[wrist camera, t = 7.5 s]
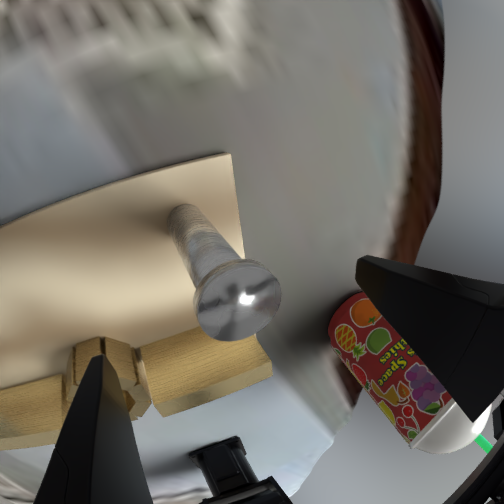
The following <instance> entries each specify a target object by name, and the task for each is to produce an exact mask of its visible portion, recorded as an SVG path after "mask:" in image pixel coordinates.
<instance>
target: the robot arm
mask: <svg viewBox="0 0 504 504" xmlns="http://www.w3.org/2000/svg"><path fill="white" fill-rule="evenodd" d="M355 279H356V282H357V284H358V285H359V286H360V288H361V289H362V290H363V292H364V293H365V294H366V296H367V297H368V298H369V300H370V301H371V302H372V304H373V305H374V306H375V308H376V309H377V310H378V312H379V313H380V314H381V315H382V316H383V317H384V318H385V320H386V321H387V322H388V323H389V324H390V325H391V326H392V327H393V328H394V330H395V331H396V332H397V333H398V334H399V335H400V336H401V338H402V339H403V340H404V341H405V342H406V343H407V344H408V345H409V347H410V348H411V349H412V350H413V351H414V352H415V354H416V355H417V356H418V357H419V358H420V359H421V361H422V362H423V363H424V364H425V365H426V366H427V368H428V369H429V370H430V371H431V372H432V374H433V375H434V376H435V377H436V378H437V380H438V381H439V382H440V383H441V384H442V386H444V388H445V390H446V391H447V392H448V393H449V394H450V396H451V397H452V398H453V399H454V401H455V402H456V403H457V404H458V406H459V407H460V408H461V409H462V411H463V412H464V413H465V415H466V416H467V417H468V418H469V420H470V421H471V422H472V423H474V422H475V421H476V420H477V419H478V418H479V416H480V415H481V414H482V413H483V412H484V411H485V410H486V409H487V408H488V407H489V406H490V404H491V403H492V402H493V401H494V400H495V399H496V397H497V396H498V395H499V394H500V395H501V396H502V397H503V398H502V399H501V401H500V402H499V404H498V405H497V407H496V408H495V410H494V411H493V413H492V414H493V426H494V438H495V439H496V440H497V442H496V444H495V445H494V446H493V448H492V449H491V450H490V452H489V453H488V454H487V455H486V457H485V458H484V459H483V461H482V462H481V463H480V464H479V465H478V467H477V468H476V469H475V470H474V471H473V472H472V474H471V475H470V476H469V477H468V478H467V479H466V480H465V481H464V483H463V484H462V485H461V486H460V487H459V488H458V489H457V490H456V491H455V492H454V493H453V494H452V495H451V496H450V497H449V498H448V499H447V500H446V501H445V502H444V503H443V504H484V503H485V502H486V501H487V499H488V498H489V497H490V498H491V499H492V500H490V501H489V502H488V503H487V504H504V284H500V283H494V282H489V281H483V280H477V279H472V278H467V277H463V276H458V275H454V274H453V275H452V274H450V273H446V272H441V271H437V270H432V269H428V268H424V267H419V266H415V265H410V264H406V263H401V262H397V261H392V260H388V259H383V258H379V257H374V256H369V255H366V256H363V257H361V258H359V259H358V260H357V264H356V274H355ZM245 455H246V451H245V449H244V446H243V444H242V442H241V439H240V437H235V438H232V439H230V440H227V441H224V442H222V443H219V444H216V445H213V446H211V447H208V448H205V449H202V450H199V451H196V452H193V453H190V454H189V458H190V459H191V460H192V461H193V462H194V463H195V464H196V465H197V466H198V467H199V468H200V469H201V470H202V473H203V475H204V477H205V479H206V482H207V484H208V486H209V488H210V490H211V492H212V495H213V497H211V498H208V499H207V498H205V499H202V500H203V502H201V503H199V504H293V503H292V502H291V500H290V499H289V498H288V496H287V495H286V494H285V492H284V491H283V490H282V489H281V487H280V486H279V485H278V483H277V482H276V481H275V479H274V478H273V477H272V476H270V477H268V478H267V479H264V480H262V481H259V480H258V479H257V477H256V475H255V473H254V472H253V470H252V468H251V466H250V464H249V463H248V461H247V459H246V457H245ZM33 504H153V501H152V498H151V495H150V492H149V489H148V485H147V482H146V479H145V475H144V472H143V468H142V465H141V461H140V457H139V453H138V449H137V445H136V441H135V436H134V432H133V427H132V423H131V419H130V415H129V412H128V409H127V406H126V402H125V399H124V396H123V392H122V389H121V385H120V382H119V378H118V375H117V372H116V370H115V369H114V367H113V366H112V364H111V363H110V361H109V360H108V358H107V357H106V356H105V355H104V354H99V355H96V356H93V357H92V358H91V359H90V361H89V364H88V366H87V368H86V370H85V372H84V375H83V377H82V379H81V381H80V384H79V386H78V388H77V391H76V393H75V395H74V398H73V400H72V403H71V405H70V408H69V410H68V413H67V415H66V418H65V420H64V423H63V425H62V428H61V431H60V433H59V436H58V439H57V442H56V445H55V448H54V450H53V453H52V456H51V459H50V462H49V464H48V467H47V470H46V473H45V475H44V478H43V480H42V483H41V486H40V488H39V490H38V493H37V495H36V498H35V500H34V503H33Z"/></svg>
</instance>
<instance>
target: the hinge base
mask: <svg viewBox="0 0 504 504" xmlns="http://www.w3.org/2000/svg"><path fill="white" fill-rule="evenodd" d="M140 350H141V354H142V359H143V363H142V361H141V359H140V357H139V356H138V354H137V352H136V350H135V348H134V347H132V348H130V344H128V343H125V342H122V341H118V340H115V339H112V338H109V337H106V336H105V338H104V340H103V341H102V340H101V338H100V336H98V337H95V338H92V339H88V340H85V341H82V342H79V343H76V347H74V346H73V347H72V350H71V352H70V355H69V358H68V361H67V367H66V401H67V404H68V405H69V406H70V405H71V403H72V400H73V398H74V395H75V393H76V391H77V388H78V386H79V384H80V381H81V379H82V377H83V375H84V372H85V370H86V368H87V366H88V364H89V361H90V359H91V358H92V357H93V356H96V355H99V354H104V355H105V356H106V357H107V358H108V360H109V361H110V363H111V364H112V366H113V367H114V369H115V370H116V372H117V375H118V378H119V382H120V385H121V389H122V392H123V396H124V399H125V402H126V406H127V409H128V412H129V415H130V419H131V421H133V420H137V419H138V418H137V416H139V417H142V416H143V414H144V413H145V412H146V410H147V409H148V407H149V406H150V405H151V403H152V402H151V400H153V404H154V406H155V407H156V409H157V410H158V412H159V413H160V414H161V415H162V417H166V416H169V415H172V414H175V413H178V412H181V411H184V410H187V409H190V408H193V407H196V406H199V405H202V404H205V403H207V402H210V401H213V400H215V399H218V398H221V397H223V396H226V395H228V394H231V393H233V392H236V391H238V390H241V389H243V388H246V387H248V386H250V385H253V384H255V383H257V382H260V381H262V380H264V379H267V378H269V377H271V376H273V372H272V362H271V360H270V358H269V357H268V355H267V354H266V352H265V351H264V350H263V348H262V347H261V345H260V344H259V342H258V341H257V339H256V338H255V336H254V335H252V336H250V337H248V338H245V339H242V340H238V341H230V342H226V341H219V340H216V339H213V338H211V337H209V336H208V335H207V334H206V333H205V332H204V331H203V330H202V328H201V326H198V327H196V328H193V329H190V330H187V331H184V332H181V333H178V334H175V335H173V336H170V337H167V338H164V339H161V340H158V341H155V342H152V343H149V344H146V345H143V346H140ZM143 364H144V366H143ZM144 368H145V370H144ZM145 372H146V374H145ZM146 377H147V379H146ZM147 381H148V383H147ZM148 385H149V387H148ZM149 389H150V391H149ZM150 393H151V395H150ZM151 397H152V399H151Z"/></svg>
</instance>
